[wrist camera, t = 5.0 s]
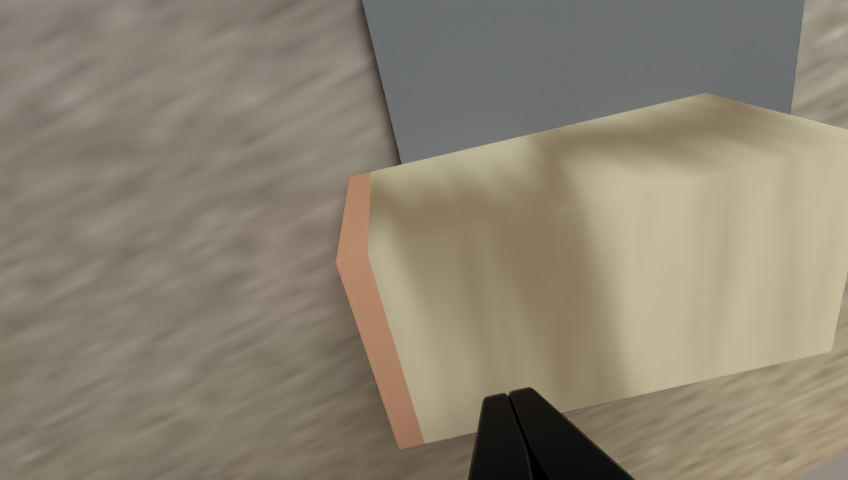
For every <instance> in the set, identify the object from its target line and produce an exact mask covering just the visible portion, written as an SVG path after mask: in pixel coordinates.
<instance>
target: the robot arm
mask: <svg viewBox="0 0 848 480" xmlns="http://www.w3.org/2000/svg"><path fill="white" fill-rule="evenodd" d="M468 480H635V479H634V478H633V477H632V476H631V475H630V474H629V473H627V472H626V471H625V470H624V469H623V468H622V467H621V466H620V465H618V464H617V463H616V462H615V461H614V460H613V459H612V458H611V457H610V456H608V455H607V454H606V453H605V452H604V451H603V450H602V449H601V448H599V447H598V446H597V445H596V444H595V443H594V442H593V441H592V440H591V439H589V438H588V437H587V436H586V435H585V434H584V433H583V432H582V431H580V430H579V429H578V428H577V427H576V426H575V425H574V424H573V423H571V422H570V421H569V420H568V419H567V418H566V417H565V416H564V415H563V414H561V413H560V412H559V411H558V410H557V409H556V408H555V407H554V406H552V405H551V404H550V403H549V402H548V401H547V400H546V399H545V398H544V397H542V396H541V395H540V394H539V393H538V392H537V391H536V390H534V389H533V388H531V387H526V388H521V389H517V390H513V391H510V392H509V394H508V395H507V394H506V393H499V394H495V395H491V396H486V397H485V398H484V399H483V401H482V406H481V411H480V417H479V422H478V428H477V433H476V439H475V444H474V449H473V455H472V460H471V466H470V471H469V477H468Z"/></svg>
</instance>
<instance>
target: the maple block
mask: <svg viewBox="0 0 848 480" xmlns="http://www.w3.org/2000/svg"><path fill="white" fill-rule="evenodd" d="M336 265H337V268H338V271H339V274H340V276H341V279H342V282H343V285H344V288H345V291H346V294H347V297H348V300H349V303H350V306H351V309H352V312H353V315H354V318H355V321H356V324H357V327H358V330H359V333H360V335H361V338H362V341H363V344H364V347H365V350H366V353H367V356H368V359H369V362H370V365H371V368H372V371H373V374H374V377H375V380H376V383H377V386H378V389H379V392H380V394H381V397H382V400H383V403H384V406H385V409H386V412H387V415H388V418H389V421H390V424H391V427H392V430H393V433H394V436H395V439H396V442H397V445H398V448H399V450H401V449H405V448H409V447H414V446H418V445H423V444H427V443H431V442H436V441H440V440H445V439H449V438H453V437H458V436H462V435H467V434H471V433H475V432H477V428H478V422H479V417H480V411H481V406H482V401H483V399H484V398H485V397H486V396H491V395H495V394H499V393H506V394H507V395H508V394H509V392H510V391H513V390H517V389H521V388H526V387H531V388H533V389H534V390H536V391H537V392H538V393H539V394H540V395H541V396H542V397H544V398H545V399H546V400H547V401H548V402H549V403H550V404H551V405H552V406H554V407H555V408H556V409H557V410H558V411H559V412H560V413H563V412H568V411H572V410H576V409H581V408H585V407H590V406H594V405H598V404H603V403H607V402H612V401H616V400H620V399H625V398H629V397H634V396H638V395H642V394H647V393H651V392H656V391H660V390H664V389H669V388H673V387H678V386H682V385H686V384H691V383H695V382H700V381H704V380H708V379H713V378H717V377H722V376H726V375H730V374H735V373H739V372H744V371H748V370H752V369H757V368H761V367H766V366H770V365H774V364H779V363H783V362H788V361H792V360H796V359H801V358H805V357H810V356H814V355H818V354H823V353H827V352H831V351H832V346H833V341H834V336H835V331H836V326H837V321H838V316H839V311H840V306H841V301H842V297H843V292H844V287H845V282H846V277H847V272H848V130H846V129H842V128H839V127H835V126H831V125H827V124H823V123H819V122H816V121H812V120H808V119H804V118H800V117H796V116H793V115H789V114H785V113H781V112H777V111H773V110H770V109H766V108H762V107H758V106H754V105H750V104H747V103H743V102H739V101H735V100H731V99H727V98H724V97H720V96H716V95H712V94H708V93H704V94H699V95H695V96H691V97H687V98H682V99H678V100H674V101H670V102H665V103H661V104H657V105H653V106H648V107H644V108H640V109H636V110H631V111H627V112H623V113H619V114H614V115H610V116H606V117H602V118H597V119H593V120H589V121H585V122H580V123H576V124H572V125H568V126H564V127H559V128H555V129H551V130H547V131H542V132H538V133H534V134H530V135H525V136H521V137H517V138H513V139H508V140H504V141H500V142H496V143H491V144H487V145H483V146H479V147H474V148H470V149H466V150H462V151H457V152H453V153H449V154H445V155H440V156H436V157H432V158H428V159H423V160H419V161H415V162H411V163H406V164H402V165H398V166H394V167H389V168H385V169H381V170H377V171H372V172H368V173H364V174H360V175H355V176H351V177H349V183H348V189H347V195H346V202H345V208H344V214H343V221H342V227H341V233H340V239H339V246H338V252H337V258H336Z"/></svg>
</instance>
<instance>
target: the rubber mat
mask: <svg viewBox="0 0 848 480" xmlns="http://www.w3.org/2000/svg"><path fill="white" fill-rule="evenodd" d="M804 1H805V0H362V2H363V6H364V10H365V14H366V19H367V23H368V27H369V31H370V35H371V39H372V43H373V48H374V52H375V56H376V60H377V64H378V68H379V72H380V77H381V81H382V85H383V89H384V93H385V97H386V101H387V106H388V110H389V114H390V118H391V122H392V126H393V131H394V135H395V139H396V143H397V147H398V151H399V155H400V160H401V164H406V163H411V162H415V161H419V160H423V159H428V158H432V157H436V156H440V155H445V154H449V153H453V152H457V151H462V150H466V149H470V148H474V147H479V146H483V145H487V144H491V143H496V142H500V141H504V140H508V139H513V138H517V137H521V136H525V135H530V134H534V133H538V132H542V131H547V130H551V129H555V128H559V127H564V126H568V125H572V124H576V123H580V122H585V121H589V120H593V119H597V118H602V117H606V116H610V115H614V114H619V113H623V112H627V111H631V110H636V109H640V108H644V107H648V106H653V105H657V104H661V103H665V102H670V101H674V100H678V99H682V98H687V97H691V96H695V95H699V94H704V93H708V94H712V95H716V96H720V97H724V98H727V99H731V100H735V101H739V102H743V103H747V104H750V105H754V106H758V107H762V108H766V109H770V110H773V111H777V112H781V113H785V114H789V115H790V113H791V105H792V97H793V89H794V81H795V73H796V65H797V57H798V49H799V41H800V33H801V25H802V17H803V9H804Z"/></svg>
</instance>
